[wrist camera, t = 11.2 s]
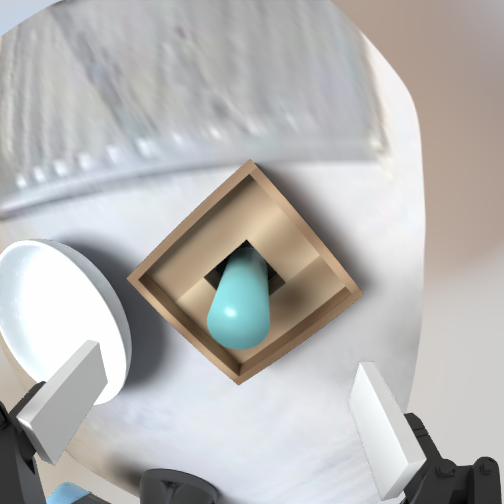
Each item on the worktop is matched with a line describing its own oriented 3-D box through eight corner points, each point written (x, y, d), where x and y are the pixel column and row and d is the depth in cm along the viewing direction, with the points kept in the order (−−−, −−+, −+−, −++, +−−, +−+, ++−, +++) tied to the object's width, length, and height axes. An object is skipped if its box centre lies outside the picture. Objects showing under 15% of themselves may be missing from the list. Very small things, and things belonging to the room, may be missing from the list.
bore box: (346, 272, 30) (363, 294, 24) (242, 352, 33) (238, 385, 27) (252, 162, 28) (250, 158, 22) (149, 259, 30) (126, 278, 24)
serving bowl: (67, 191, 29) (29, 197, 22) (183, 328, 32) (166, 363, 26) (5, 290, 33) (-23, 307, 26) (94, 394, 36) (75, 423, 30)
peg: (265, 286, 31) (267, 351, 19) (226, 284, 31) (207, 347, 19) (268, 249, 30) (272, 297, 18) (228, 246, 30) (207, 292, 18)
